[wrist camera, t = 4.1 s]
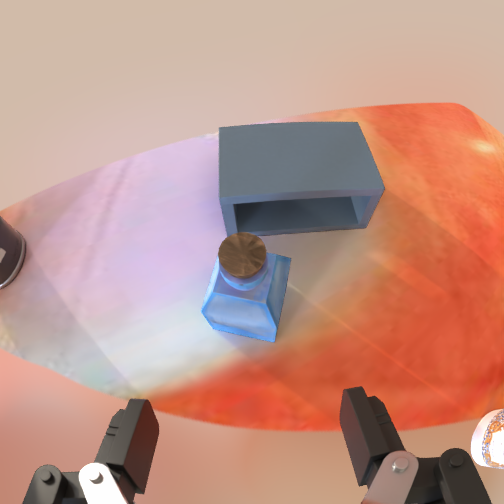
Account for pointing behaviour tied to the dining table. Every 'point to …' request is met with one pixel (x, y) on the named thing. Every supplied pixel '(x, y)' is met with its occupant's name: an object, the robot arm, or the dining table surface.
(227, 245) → the perfume bottle
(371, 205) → the shelf
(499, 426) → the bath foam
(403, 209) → the dining table surface
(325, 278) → the dining table surface
